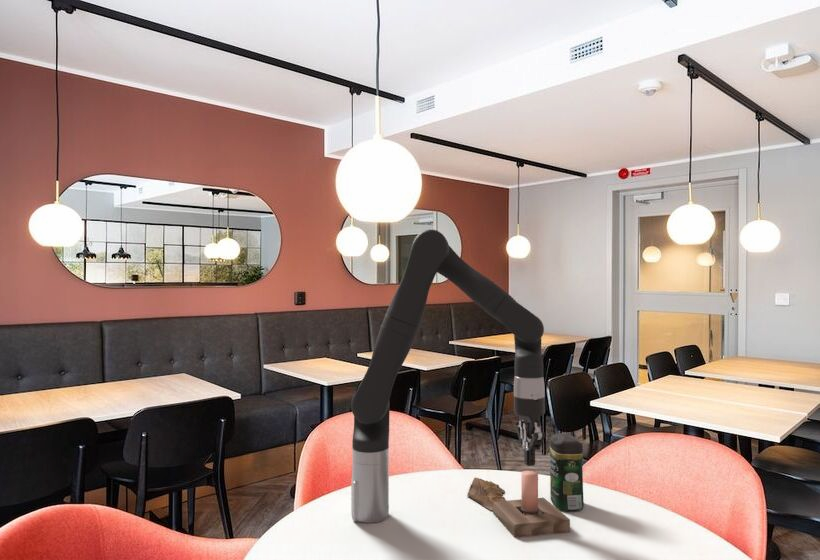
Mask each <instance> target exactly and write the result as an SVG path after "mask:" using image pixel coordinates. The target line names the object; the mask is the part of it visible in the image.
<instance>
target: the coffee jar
mask: <svg viewBox="0 0 820 560" xmlns="http://www.w3.org/2000/svg"><path fill="white" fill-rule="evenodd" d="M549 455H550V456H549V457H550V458H549V461H550V462H549V464H550V465H549V467H550V468H549V470H550V473H549V474H550V478H549V479H550V480H549V481H550V485H549V487H550V489H549V490H550V493H549V494H550V497H549V498H550V501H551V502H552V503H551V504H552V505H553V506H554V507H556V508H557V509H558V510H559V511H566V512H577V511H580V510H583V509H584V479H583V478H584V477H583V476H584V475H583V473H584V471H583V459H584V458H583V457H584V447H583V443H582V441H581V440H580V439H578V438H577V437H575V436H574V435H572V434H571V433H568V432H565V433H563V432H562V433H561V432H559V433H554V434H553V435H552V436H550V439H549Z"/></svg>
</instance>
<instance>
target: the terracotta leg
mask: <svg viewBox="0 0 820 560" xmlns="http://www.w3.org/2000/svg"><path fill="white" fill-rule="evenodd" d="M520 475H521V478H520V479H521V481H520V482H521V485H520V486H521V499H522V506H521V511H522V512H523V515H524V516H525V515H536V514H537V513H538V512H539V508H538V498H539V474H538V472H536V471H533V470H524V471H521V474H520Z"/></svg>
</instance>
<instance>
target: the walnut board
mask: <svg viewBox="0 0 820 560" xmlns="http://www.w3.org/2000/svg"><path fill="white" fill-rule="evenodd" d="M521 506H522V498H521V499H512V500H511V499H509V500H506V501H496V502H493V511H492V514H493V515H494V517H496V519H497V518H498V519H497V520H499V522H500V523H501V524H502V525H503V526H504V528H505V527H506V528H505V529H506V530H507V531H508V532H509V533H510V534H511V536H513V538H524V537H533V536H534V537H535V536H544V535H554V534H563V533H564V534H565V533H570V532H571V519H570V518H569V516H566V515H565V513H563V512H562V511H561V510H559V509H557V508H556V507H555V506H554V505H553V503H551V502H550V501H548V500H547V498H545V497H538V508H539V512H538V513H537V514H536V515H525V516H524V515H523V512H522V511H521Z"/></svg>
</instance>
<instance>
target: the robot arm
mask: <svg viewBox="0 0 820 560" xmlns="http://www.w3.org/2000/svg"><path fill="white" fill-rule="evenodd" d="M410 248H411V249H410V252H409V256H408V260H407V263H406V267H405V270H404V272H403V276H402V278H401V281H400V283H399V284H398V287H397V289H396V291H395V293H394V295H393V297H392V299H391V302H390V303H389V305H388V308H387V311H386V313H385V316H384V318H383V321H382V323H381V325H380V328H379V331H378V335H377V337H376V341H375V344H374V347H373V351H372V355H371V359H370V362H369V365H368V368H367V370H366V371H365V374H364V376H363V378H362V380H361V381H360V384H359V386H358V387H357V390H356V391H355V393H354V394H353V396H352V399H351V403H350V407H351V409H350V410H351V413H352V415H353V433H352V439H351V440H352V441H351V442H352V447H351V449H352V455H351V456H352V459H351V460H352V466H351V467H352V470H351V471H352V475H351V477H350V478H351V480H350V481H351V485H350V486H351V492H350V493H351V496H350V497H351V498H350V499H351V500H350V501H351V503H350V504H351V505H350V506H351V507H350V509H351V511H350V512H351V517H352V520H353V522H354V523H356V522H358V523H359V522H360V523H367V524H368V523H369V524H371V523H379V522H383V521H384V520H386V519H388V518H389V513H390V504H389V503H390V502H389V500H390V499H389V497H390V496H389V494H390V493H389V492H390V488H389V487H390V485H389V484H390V482H389V479H390V478H389V477H390V476H389V475H390V474H389V472H390V471H389V470H390V469H389V467H390V465H389V463H390V461H389V457H390V456H389V452H390V447H389V446H390V445H389V444H390V409H391V408H390V405H391V404H390V398H391V395H392V391H393V390H392V389H393V387H394V384H395V381H396V378H397V376H398V374H399V372H400V369H401V368H402V366H403V364H404V362H405V361H406V359H407V358H408V357H407V356H408V355H409V353H410V351H411V349H412V347H413V344H414V342H415V340H416V338H417V335H418V332H419V329H420V327H421V324H422V321H423V318H424V315H425V309H426V306H427V301H428V297H429V293H430V288H431V285H432V283H433V282H434V279H435V277H436V275H437V273H438V274H440V275H441V276H442V277H445V279H446V280H448V281H450V282H451V283H453V284H454V285H455V286H456V287H458V289H459V290H460V291H462V292H463V293H464V294H465V295H466V296H467V297H468V298H469V299H471V301H472V302H474V303H475V304H476V305H477V306H478V307H480V308H481V309H482V310H483V311H485V313H487V314H488V315H490V317H492V318H493V319H495V320H497V321H498V322H499V323H501V325H503V327H505V328H506V329H507V330H508V331H509V332H510V333H511V334H512V335H513V340H514V350H515V351H514V352H515V353H514V354H515V356H514V381H513V412H514V414H515V415H518V416H519V417H518V418H519V419H518V420H519V421H515V422H514V424H515V429H516V433H517V436H518V437H517V438H518V440H519V443H520V445H522V448H523V453H524V456H523V457H524V458H523V459H524V460H523V461H524V465H526V466H527V467H532V466H535V465H536V451H540V449H541V447H542V445H543V442H544V439H545V438H546V433H545V432H544V431H543V432H542V431H541V422H540V417H541V416H543V415H545V414H546V398H545V397H546V394H545V393H546V392H545V390H546V389H545V379H544V358H543V354H542V338H543V336H544V332H545V331H544V330H545V327H544V324H543V321H542V320H541V319H540V318H539V316H537V315H535V314H534V313H533V312H531V311H530V310H528V309H527V307H524V306H523V305H521V304H520V303H519V302H518V301H516V300H515V298H513V297H512V296H511V294H509V293H508V292H506V290H504V288H501V286H499V285H498V284H497V283H495V282H494V281H492V280H491V279H490V278H488V277H487V276H485V275H484V274H483V273H481V272H479V271H478V270H477V269H475V268H474V267H472V266H470V265H469V264H468V263H467V262H466V261H464V259H462V258H461V256H459V255H458V254H457V252H455V250H454V249H453V248H452V247H451V246H450V245H449V242H448V240H447V238H446V237H445V235H444V234H443V233H442V232H440V231H438V230H437V229H426V230H422V231H421V232H420V233H418V234H417V236H415V237H414V240H413V242H412V244H411V247H410Z"/></svg>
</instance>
